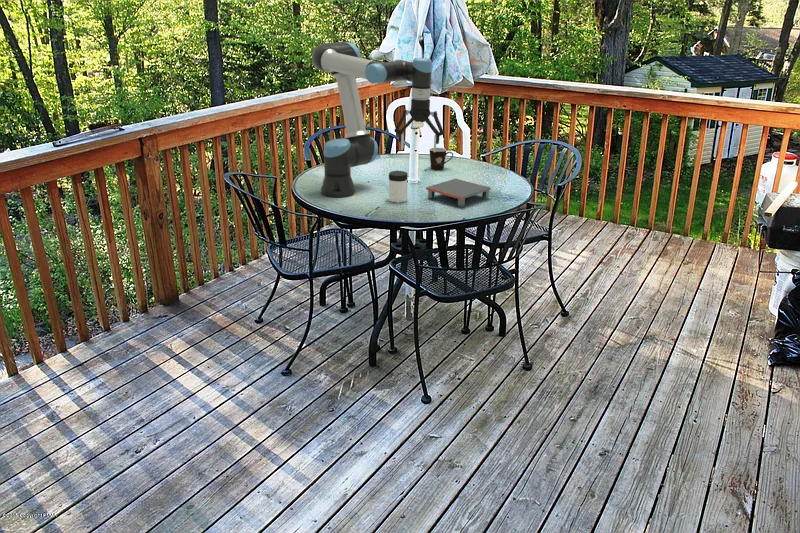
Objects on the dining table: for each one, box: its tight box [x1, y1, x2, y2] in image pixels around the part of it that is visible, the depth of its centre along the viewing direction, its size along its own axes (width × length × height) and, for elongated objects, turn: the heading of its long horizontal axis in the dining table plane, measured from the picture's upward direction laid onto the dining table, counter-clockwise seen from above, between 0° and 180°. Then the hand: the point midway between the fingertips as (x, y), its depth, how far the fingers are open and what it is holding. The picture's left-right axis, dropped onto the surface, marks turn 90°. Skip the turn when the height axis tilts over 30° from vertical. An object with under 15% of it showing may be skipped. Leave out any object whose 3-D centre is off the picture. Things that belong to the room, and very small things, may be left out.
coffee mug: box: [429, 147, 454, 171], centre depth 336 cm, size 12×9×10 cm
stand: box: [425, 178, 492, 208], centre depth 291 cm, size 20×21×5 cm
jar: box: [388, 170, 409, 204], centre depth 287 cm, size 9×8×12 cm
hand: (418, 150), depth 273 cm, fingers open, 13 cm apart
